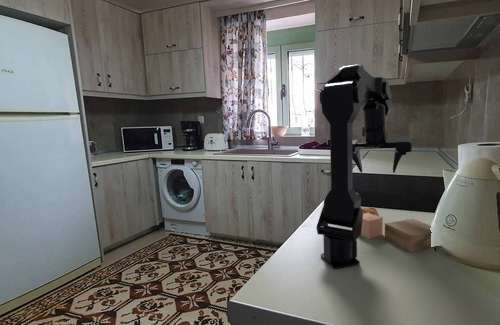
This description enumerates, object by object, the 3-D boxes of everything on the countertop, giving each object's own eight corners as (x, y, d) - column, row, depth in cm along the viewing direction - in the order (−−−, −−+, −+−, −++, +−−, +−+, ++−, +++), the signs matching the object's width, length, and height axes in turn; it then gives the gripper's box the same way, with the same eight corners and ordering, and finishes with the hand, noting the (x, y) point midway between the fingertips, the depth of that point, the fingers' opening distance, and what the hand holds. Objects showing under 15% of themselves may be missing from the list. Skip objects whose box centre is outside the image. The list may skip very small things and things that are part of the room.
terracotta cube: (369, 239, 78) (369, 221, 77) (354, 233, 82) (354, 216, 81) (382, 235, 80) (382, 217, 79) (367, 229, 84) (367, 212, 84)
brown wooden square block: (410, 252, 69) (411, 235, 69) (384, 237, 78) (384, 223, 77) (441, 246, 71) (442, 230, 71) (413, 232, 80) (413, 218, 79)
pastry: (354, 226, 88) (354, 213, 87) (342, 219, 94) (342, 207, 94) (381, 221, 90) (381, 209, 89) (368, 215, 96) (368, 204, 96)
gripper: (411, 113, 88) (411, 162, 92) (346, 119, 97) (350, 163, 101) (411, 122, 78) (411, 176, 83) (339, 127, 87) (344, 175, 92)
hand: (377, 172), depth 90 cm, fingers open, 9 cm apart
